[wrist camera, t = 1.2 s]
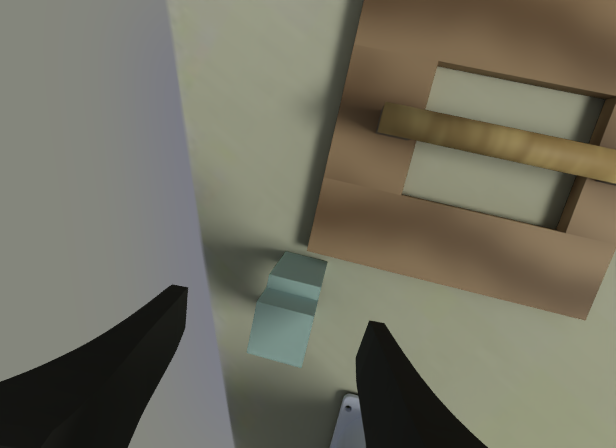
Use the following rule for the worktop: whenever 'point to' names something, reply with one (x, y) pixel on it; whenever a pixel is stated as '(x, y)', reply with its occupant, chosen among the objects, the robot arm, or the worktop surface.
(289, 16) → the worktop surface
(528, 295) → the board with dowel handle
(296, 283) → the stepped grey-green block
